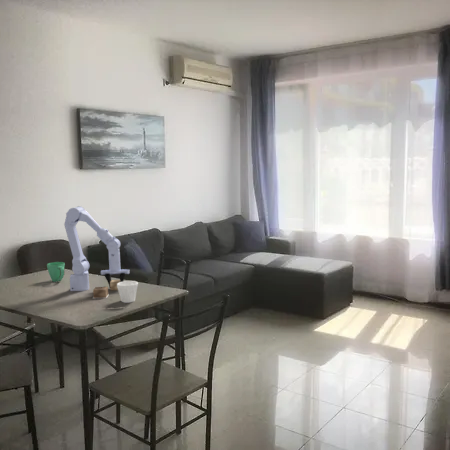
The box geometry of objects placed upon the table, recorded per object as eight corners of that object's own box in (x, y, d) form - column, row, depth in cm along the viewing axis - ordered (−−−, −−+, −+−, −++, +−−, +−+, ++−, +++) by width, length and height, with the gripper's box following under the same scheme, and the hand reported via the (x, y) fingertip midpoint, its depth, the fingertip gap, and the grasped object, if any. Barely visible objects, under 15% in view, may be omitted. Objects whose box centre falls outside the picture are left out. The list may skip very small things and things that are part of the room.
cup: (118, 305, 239) (117, 286, 238) (117, 300, 248) (116, 281, 247) (140, 303, 241) (139, 284, 240) (137, 298, 251) (136, 280, 250)
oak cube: (110, 291, 266) (109, 282, 265) (112, 289, 271) (111, 279, 270) (120, 291, 266) (119, 281, 265) (121, 288, 271) (121, 279, 270)
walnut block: (93, 298, 251) (93, 290, 251) (96, 294, 257) (95, 287, 257) (105, 297, 251) (105, 289, 251) (108, 294, 257) (107, 286, 257)
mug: (45, 280, 294) (44, 263, 293) (61, 277, 301) (60, 261, 299) (55, 285, 283) (54, 267, 282) (72, 282, 289) (71, 264, 288)
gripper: (99, 264, 262) (100, 289, 264) (127, 263, 263) (128, 288, 264) (101, 261, 269) (103, 286, 271) (129, 260, 270) (130, 285, 271)
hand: (116, 287), depth 268 cm, fingers closed on oak cube, 5 cm apart
